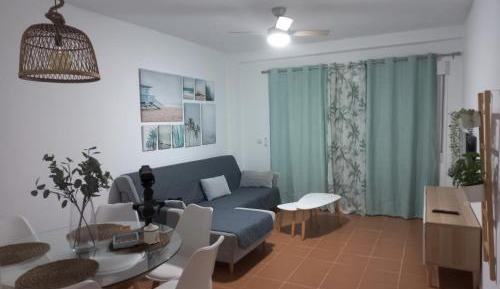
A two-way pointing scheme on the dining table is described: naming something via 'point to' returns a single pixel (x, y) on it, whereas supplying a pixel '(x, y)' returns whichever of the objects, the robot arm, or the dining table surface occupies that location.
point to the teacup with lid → (151, 234)
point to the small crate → (125, 229)
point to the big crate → (126, 241)
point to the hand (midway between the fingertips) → (149, 218)
